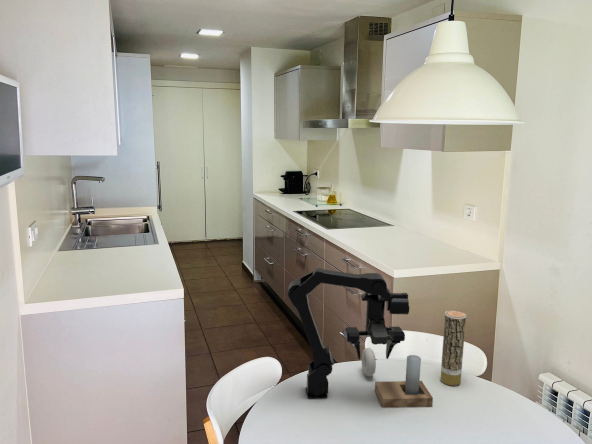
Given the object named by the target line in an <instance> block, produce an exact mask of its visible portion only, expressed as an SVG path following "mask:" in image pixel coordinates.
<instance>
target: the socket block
mask: <svg viewBox="0 0 592 444" xmlns="http://www.w3.org/2000/svg"><path fill="white" fill-rule="evenodd" d="M405 382H406V380H401V381H400V380H397V381H395V380H394V381H393V380H392V381H375V382H374V391H375V393H376V395H377V398H378V400H379V402H380V404H381V407H382V408H383V409H385V408H387V409H388V408H389V409H390V408H392V409H394V408H423V407H425V408H427V407H428V408H429V407H433V403H434V400H433V399H434V397H433V395H432V394H431V393H430V391H429V390H428V388H427V386H426V385H425V384H424V382H423V380H420V381H419V395H405Z"/></svg>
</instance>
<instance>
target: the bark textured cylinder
mask: <svg viewBox="0 0 592 444" xmlns="http://www.w3.org/2000/svg"><path fill="white" fill-rule="evenodd" d="M466 320H467V313H464V312H463V311H459V310H446V311H445V312H444V326H443V339H442V353H441V355H442V356H441V364H440V365H441V366H440V381H441V382H442V383H444V384H445V385H447V386H450V387H451V386H458V385H460V384H461V383H462V381H461V379H462V372H463V371H462V369H463V357H464V346H465V332H466V322H467V321H466Z"/></svg>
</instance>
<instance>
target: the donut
mask: <svg viewBox="0 0 592 444" xmlns="http://www.w3.org/2000/svg"><path fill="white" fill-rule="evenodd" d="M375 354H376V353H375V352H374V350H373V349H372V348H371V347H366V348H364V349H363V351H362V355H361V368H362V372H363V374H364V375H365V376H366V377H373V376H374V375H375V373H376V368H377V367H376V365H377V362H376V360H377V359H376V355H375Z"/></svg>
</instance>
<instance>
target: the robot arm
mask: <svg viewBox="0 0 592 444" xmlns="http://www.w3.org/2000/svg"><path fill="white" fill-rule="evenodd" d="M320 284H325V285H326V284H327V285H334V286H339V287H345V288H347V287H348V288H354V289H357V290H360V291H363V292H364V293H363V294H362V295H360V298H361V299H360V300H361V301H363V302H366V308H365V309H366V310H365V311H366V313H365V325H364V328H365V330H358V329H359V328H358V327H356V326H346V327H345V328H344V331H343V332H344V334H343V335H344V338H345V340H346V342H349V343H350V344H351V345H354V349H355V351H356V355H357V358H358V360H361V342H360V338H370V340H371V341H370V342H371V344H372V345H376V346H377V345H386V349H385V359H387V360H388V359H390V358H389V357H390V356H391V354H392V352H393V349H394V347H395V346H397V344H401V342H405V340H406V335H405V332H404V330H403V329H402V327H400V326H389V327H388V326H386V321H385V309H386V311H387V312H388V313H389V314H390V315H405V316H406V315H407V316H408V315H409V313H410V303H409V294H408V293H407V292H400V293H399V292H397V293H396V292H391V291H390V289H389V288H388V285H387V282H386V280H385V278H384V277H383V275H382V274H380V273H378V272H366V273H360V274H357V273H349V272H342V271H336V270H330V269H329V270H328V269H324V268H321V267H317V268H315V269H313V270H312V271H311V272H309V273H307V274H305V275H303V276H302V277H300V278H299V279H298V278H297V279H294V280H292V281H291V282H290V283H289V285H288V290H287V291H288V292H287V295H288V298H289V300H290V302H291V304H292V305H293V307H294V308H295V310H296V311H297V313H298V315H299V317H300V320H301V323H302V326H303V328H304V332H305V335H306V338H307V340H308V343H309V346H310V349H311V353H312V361H311V362H310V363H308V367H307V369H308V371H307V374H306V387H305V391H306V396H307V399H328V394H329V380H328V378H327V377H328V376H330V375H331V374H332V372H333V366H334V364H335V363H334V355H333V354H332V352H331V347H330V345H328V346H325V345H324V344H323V341H322V339H321V336H320V333H319V330H318V327H317V325H316V322H315V321H316V320H315V319H314V316H313V313H312V310H311V307H310V304H309V303H310V301H309V294H310V293H312V291H313V290H315V289H316V287H317V286H319V285H320Z"/></svg>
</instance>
